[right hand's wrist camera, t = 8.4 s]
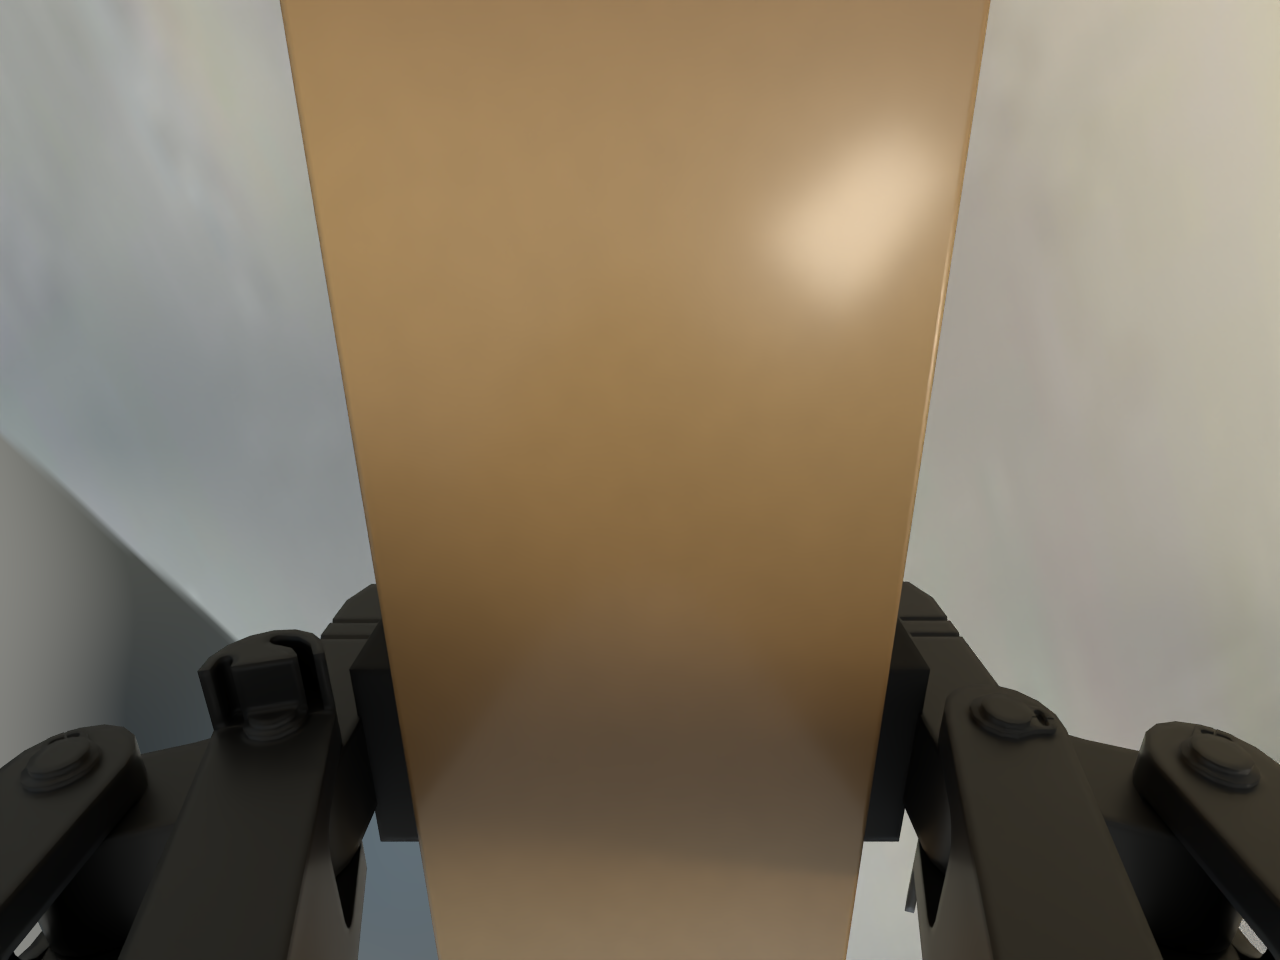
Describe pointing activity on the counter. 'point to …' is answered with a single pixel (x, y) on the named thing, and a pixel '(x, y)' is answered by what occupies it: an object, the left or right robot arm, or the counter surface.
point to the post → (638, 436)
